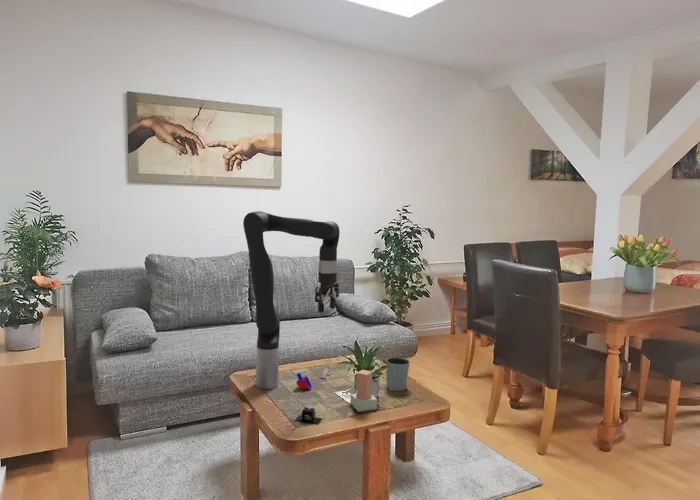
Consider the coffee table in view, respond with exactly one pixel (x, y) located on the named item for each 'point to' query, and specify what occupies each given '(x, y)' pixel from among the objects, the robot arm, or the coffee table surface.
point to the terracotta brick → (364, 384)
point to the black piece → (308, 417)
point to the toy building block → (303, 382)
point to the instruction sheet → (344, 395)
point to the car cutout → (325, 373)
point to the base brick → (363, 403)
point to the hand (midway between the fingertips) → (326, 310)
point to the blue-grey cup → (397, 373)
